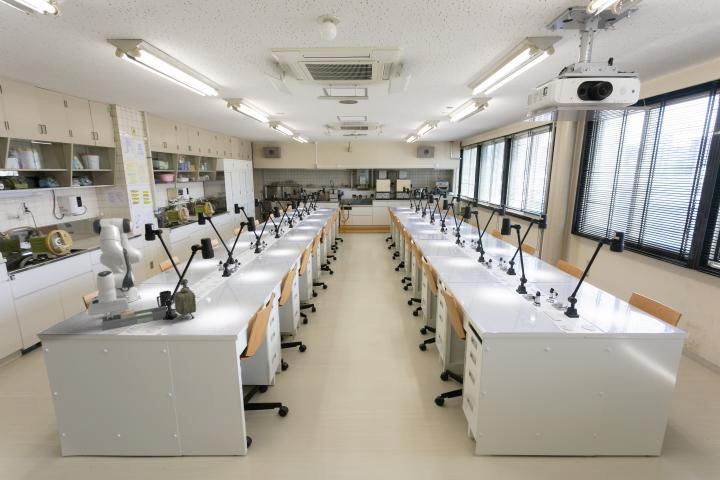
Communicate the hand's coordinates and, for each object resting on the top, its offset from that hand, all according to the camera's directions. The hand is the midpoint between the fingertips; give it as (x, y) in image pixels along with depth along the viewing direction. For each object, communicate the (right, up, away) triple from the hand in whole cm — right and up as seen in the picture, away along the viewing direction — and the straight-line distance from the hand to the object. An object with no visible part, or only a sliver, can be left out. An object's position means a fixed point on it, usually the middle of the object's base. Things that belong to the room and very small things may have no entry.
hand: (110, 318), depth 206 cm
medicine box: (-8, -2, +18) cm, 20 cm away
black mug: (+16, 0, +30) cm, 34 cm away
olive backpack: (+39, -3, +15) cm, 42 cm away
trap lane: (+11, -3, +9) cm, 14 cm away
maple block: (+7, -1, +6) cm, 9 cm away
